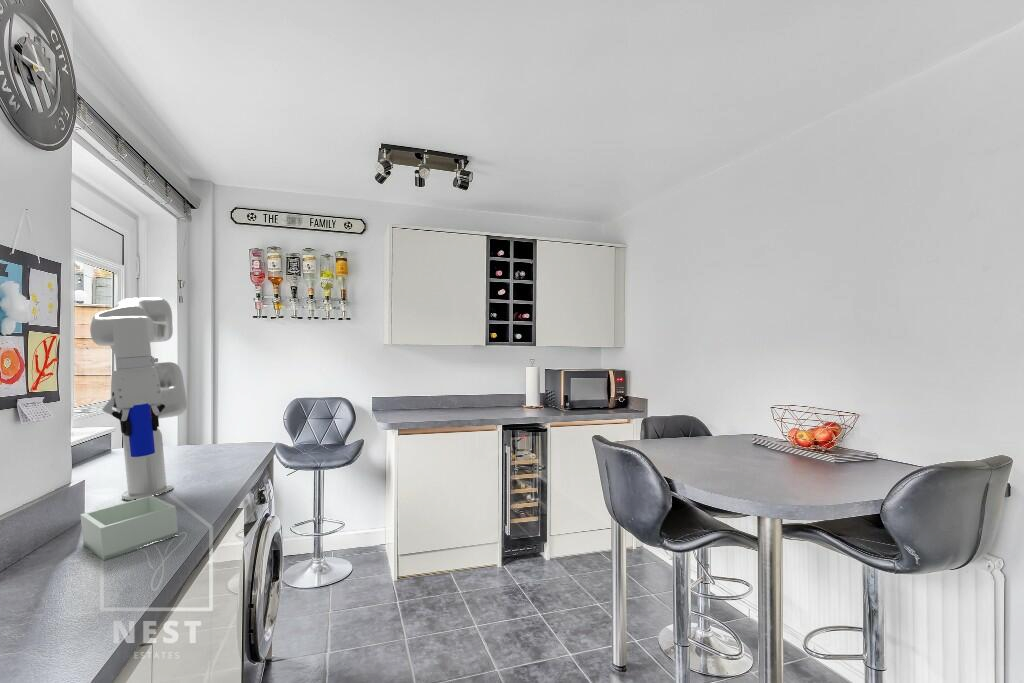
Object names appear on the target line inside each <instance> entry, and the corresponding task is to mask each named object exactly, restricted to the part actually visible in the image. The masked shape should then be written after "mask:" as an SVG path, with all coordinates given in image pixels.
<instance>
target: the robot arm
mask: <svg viewBox="0 0 1024 683" xmlns="http://www.w3.org/2000/svg"><path fill="white" fill-rule="evenodd" d="M89 329H90V330H89V331H90V337H91V340H92V341H93V343H95V344H96V345H98V346H101V347H106V346H107V347H108V346H109V347H110V348H111V351H112V353H113V354H114V357H115V369H116V370H113V371H111V372H112V373H111V379H110V380H111V382H110V399H109V400H108V402H107V403H106V404H105V405H104V406H103V407H102V409H101V410H102V412H104V413H106V414H108V415H110V416H112V417H114V418H116V419H117V420H119V424H120V431H121V436H122V442H123V443H122V444H123V453H124V454H123V456H124V463H125V465H124V466H125V473H126V484H127V491H126V490H125V491H124V492H122V494H121V499H122V500H124V499H125V501H132V500H134V499H140V498H143V497H147V496H151V495H156V494H160V493H163V492H166V493H168V492H170V491H172V490H173V488H174V485H173V483H171V482H167V476H166V475H167V474H166V466H165V455H164V454H165V453H164V444H163V435H162V431H161V430H160V428H159V427H160V423H159V422H160V420H159V419H167V418H174V417H178V416H181V415H183V414H184V413H185V412H186V411H187V407H188V406H187V405H188V401H187V394H186V386H185V383H184V382H185V381H184V376H183V372H182V369H181V367H180V365H178V364H177V363H175V362H170V361H167V362H165V361H164V362H159V359H158V357H153V355H152V348H151V347H152V346H151V343H161V342H167V341H169V340H170V339H171V338H172V336H173V333H174V331H173V330H174V329H173V313H172V307H171V305H170V303H169V302H168V301H167V300H166V299H164V298H161V297H139V298H138V297H133V298H125V299H122V300H120V301H118V302H117V303H116V304H115V306H114V308H112V309H109V310H104V311H100V312H98V313H96V314H94V316H93V317H92V319H91V322H90V328H89ZM141 400H144V401H146V402H147V403H148V405H150V406H151V415H152V425H153V436H154V446H155V453H154V455H153V456H150V457H147V458H141V459H133V458H132V457H131V453H130V443H129V436H130V435H131V428H130V421H129V420H128V418H127V417H128V413H129V409H131V408H132V407H133V406H134V404H135V403H136V402H137V401H141ZM113 408H114V409H115V410H114V409H113ZM169 490H170V491H169ZM167 491H168V492H167ZM163 494H164V493H163Z"/></svg>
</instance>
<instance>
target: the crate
mask: <svg viewBox="0 0 1024 683" xmlns="http://www.w3.org/2000/svg"><path fill="white" fill-rule="evenodd" d="M79 516H80V523H81V524H80V526H81V533H82V545H84V546H85V547H86V548H87V549H89V550H90V551H91V552H93V553H94V554H95V555H96V556H97V557H99V558H100V559H101V560H102V561H108V560H110V559H113V558H116V557H119V556H122V555H125V553H126V554H128V552H129V553H131V551H132V552H134V551H133V550H135V549H137V548H140V547H143V546H144V545H147V544H150V543H152V542H155V541H160V540H164V539H167V538H171V537H173V536H175V535H179V527H178V526H179V525H178V517H177V516H178V515H177V506H175V505H173V504H171V503H169V502H167V501H166V500H165V501H164V500H162V499H161V498H158V497H157V496H152V495H151V496H147V497H143V498H140V499H136V500H127V501H125V502H121V503H118V504H114V505H110V506H106V507H103V508H99V509H96V510H91V511H88V512H85V513H80V515H79ZM171 539H172V538H171ZM135 551H136V550H135Z"/></svg>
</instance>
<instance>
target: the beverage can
mask: <svg viewBox="0 0 1024 683" xmlns="http://www.w3.org/2000/svg"><path fill="white" fill-rule="evenodd" d="M127 418H128V420H129V421H130V428H131V435H130V436H129V443H130V453H131V457H132V458H133V459H141V458H147V457H150V456H153V455H154V453H155V446H154V436H153V425H152V415H151V406H150V405H148V403H147V402H146V401H144V400H141V401H137V402H136V403H135V404H134V406H133V407H132V408H131V409H129V413H128V417H127Z"/></svg>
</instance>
